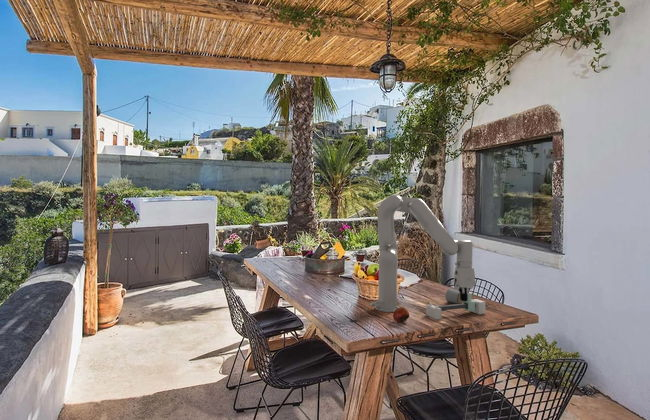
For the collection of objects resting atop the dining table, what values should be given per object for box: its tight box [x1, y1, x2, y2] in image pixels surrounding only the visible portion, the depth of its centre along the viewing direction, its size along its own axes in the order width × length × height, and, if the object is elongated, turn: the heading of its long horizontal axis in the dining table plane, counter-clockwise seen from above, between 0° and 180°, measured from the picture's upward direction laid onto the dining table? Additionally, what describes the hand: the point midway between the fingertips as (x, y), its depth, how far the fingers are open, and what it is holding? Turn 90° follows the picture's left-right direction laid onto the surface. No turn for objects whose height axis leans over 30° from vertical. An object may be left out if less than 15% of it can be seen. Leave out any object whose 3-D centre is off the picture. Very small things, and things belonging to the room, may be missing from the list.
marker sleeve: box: [462, 292, 475, 312], centre depth 198 cm, size 4×4×8 cm
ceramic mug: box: [445, 287, 463, 304], centre depth 219 cm, size 11×8×8 cm
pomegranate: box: [392, 306, 410, 325], centre depth 181 cm, size 7×7×10 cm
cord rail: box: [425, 298, 486, 320], centre depth 195 cm, size 30×8×6 cm, turn 110°
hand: (463, 300), depth 197 cm, fingers closed
